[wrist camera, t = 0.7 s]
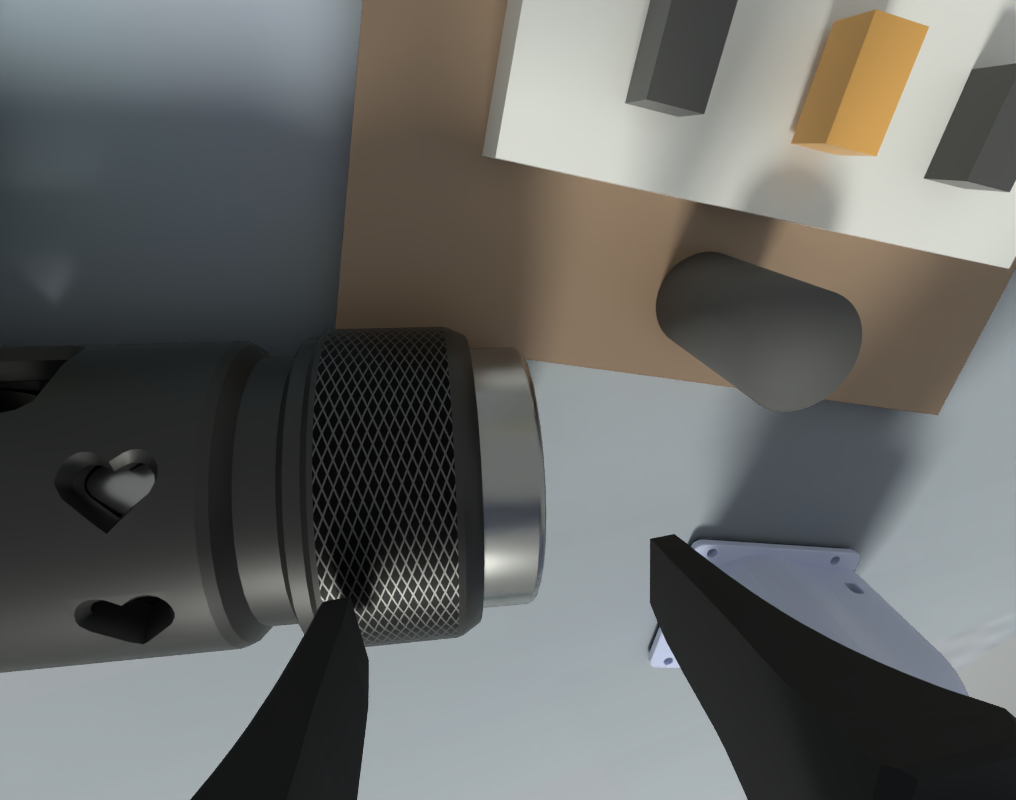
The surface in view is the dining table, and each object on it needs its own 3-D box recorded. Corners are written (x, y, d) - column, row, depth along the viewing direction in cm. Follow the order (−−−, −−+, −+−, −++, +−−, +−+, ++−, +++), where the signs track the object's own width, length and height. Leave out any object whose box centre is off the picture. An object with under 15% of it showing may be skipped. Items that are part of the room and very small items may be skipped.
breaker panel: (1199, -140, 19) (1482, -241, 14) (919, 405, 26) (1038, 466, 21) (409, -514, 13) (413, -920, 8) (337, 324, 20) (315, 382, 15)
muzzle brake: (-240, 549, 21) (-490, 290, 16) (496, 499, 25) (506, 278, 20) (-619, 853, 14) (-1386, 552, 8) (536, 711, 18) (570, 444, 12)
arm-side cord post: (760, 260, 21) (883, 300, 16) (727, 352, 22) (830, 418, 17) (672, 243, 20) (770, 279, 15) (643, 339, 22) (723, 404, 16)
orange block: (883, 36, 15) (929, 26, 14) (837, 155, 16) (876, 156, 15) (833, 21, 15) (875, 8, 14) (790, 143, 16) (826, 143, 15)
